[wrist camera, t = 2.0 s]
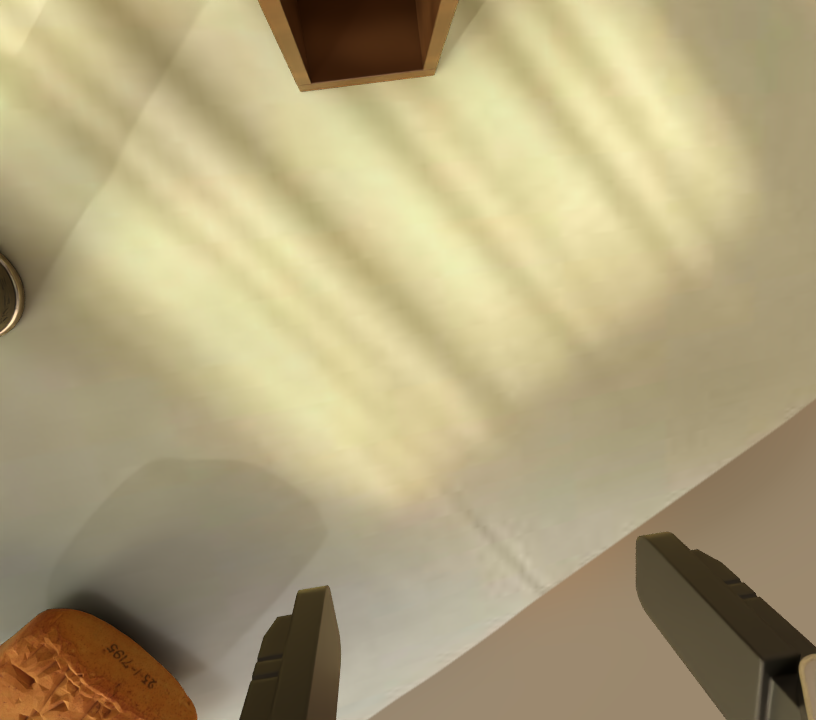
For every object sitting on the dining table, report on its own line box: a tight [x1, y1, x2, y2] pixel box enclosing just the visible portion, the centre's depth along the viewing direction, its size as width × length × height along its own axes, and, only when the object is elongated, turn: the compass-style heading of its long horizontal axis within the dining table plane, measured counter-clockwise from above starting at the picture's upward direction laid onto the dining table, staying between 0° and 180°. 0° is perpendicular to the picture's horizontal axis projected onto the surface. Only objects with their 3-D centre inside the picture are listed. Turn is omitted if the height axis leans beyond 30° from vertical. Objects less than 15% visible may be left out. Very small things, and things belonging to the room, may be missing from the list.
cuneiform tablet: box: [0, 609, 197, 720], centre depth 47 cm, size 22×17×8 cm
